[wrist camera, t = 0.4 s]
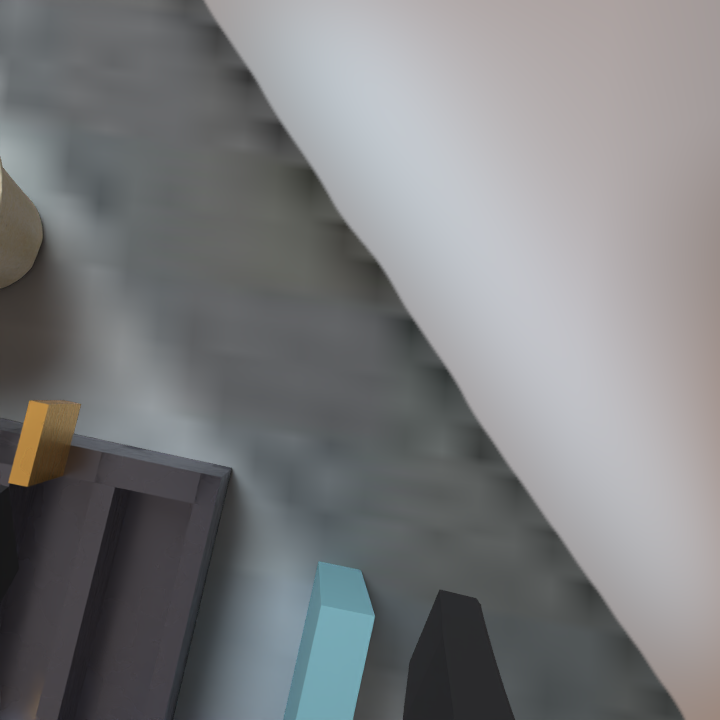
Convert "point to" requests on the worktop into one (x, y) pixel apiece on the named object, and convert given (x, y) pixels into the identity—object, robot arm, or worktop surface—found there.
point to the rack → (100, 570)
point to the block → (332, 647)
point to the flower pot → (17, 231)
